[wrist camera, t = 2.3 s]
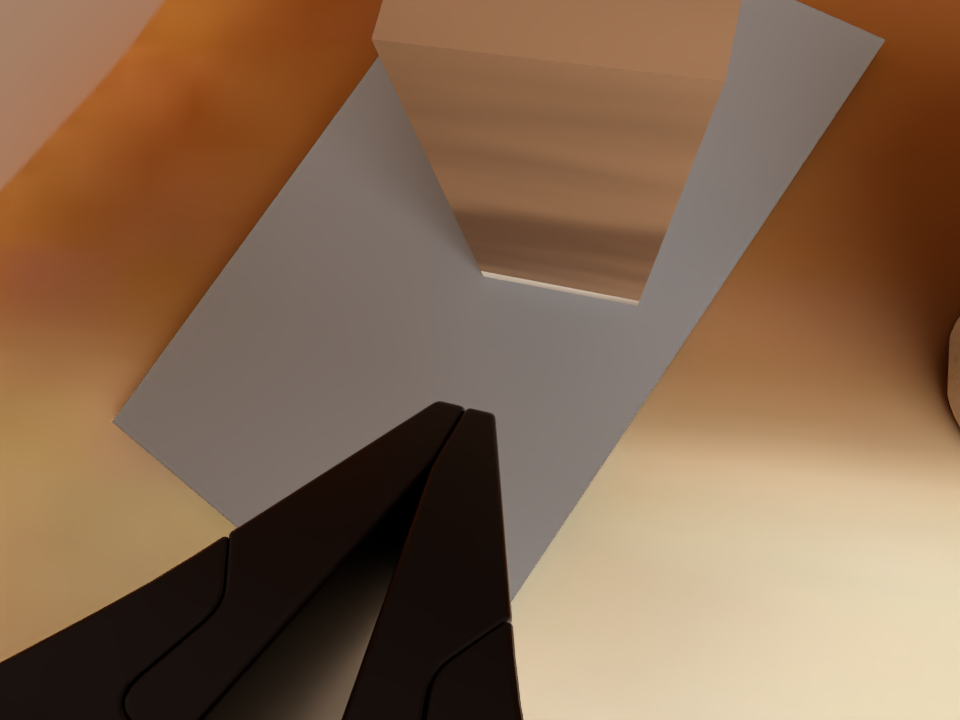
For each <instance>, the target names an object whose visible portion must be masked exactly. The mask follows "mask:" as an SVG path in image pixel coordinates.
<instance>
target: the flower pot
mask: <svg viewBox="0 0 960 720" xmlns="http://www.w3.org/2000/svg"><path fill="white" fill-rule="evenodd" d="M947 395H948V399H949V404H950V406H951V409H952V412H953V415H954V417H955V419H956V421H957V423H958V424H959V426H960V317H959V318H958V320H957V321H956V323H955V325H954V328H953V330H952V332H951V334H950V339H949V365H948V390H947Z"/></svg>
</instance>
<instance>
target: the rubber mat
mask: <svg viewBox="0 0 960 720" xmlns="http://www.w3.org/2000/svg"><path fill="white" fill-rule="evenodd" d="M884 41H885V39H883V38H881V37H878V36H876V35H874V34H871V33H869V32H867V31H865V30H862V29H860V28H858V27H855V26H853V25H851V24H849V23H846V22H844V21H842V20H839V19H837V18H835V17H833V16H830V15H828V14H826V13H823V12H821V11H819V10H817V9H814V8H812V7H810V6H807V5H805V4H803V3H801V2H798V1H796V0H742V1H741V6H740V11H739V16H738V21H737V25H736V30H735V35H734V40H733V45H732V50H731V55H730V60H729V65H728V70H727V74H726V79H725V83H724V85H723V88H722V91H721V93H720V96H719V98H718V101H717V103H716V106H715V109H714V111H713V114H712V116H711V119H710V121H709V124H708V127H707V129H706V132H705V134H704V137H703V139H702V142H701V144H700V147H699V150H698V152H697V155H696V157H695V160H694V162H693V165H692V168H691V170H690V173H689V175H688V178H687V180H686V183H685V186H684V188H683V191H682V193H681V196H680V198H679V201H678V203H677V206H676V209H675V211H674V214H673V216H672V219H671V221H670V224H669V227H668V229H667V232H666V234H665V237H664V239H663V242H662V244H661V247H660V250H659V252H658V255H657V257H656V260H655V262H654V265H653V268H652V270H651V273H650V275H649V278H648V280H647V283H646V286H645V288H644V291H643V293H642V296H641V298H640V301H639V303H638V306H635V305H630V304H625V303H619V302H614V301H609V300H604V299H599V298H593V297H588V296H583V295H578V294H573V293H567V292H562V291H557V290H552V289H547V288H542V287H536V286H531V285H526V284H521V283H516V282H510V281H505V280H500V279H495V278H490V277H484V276H483V275H482V272H481V270H480V268H479V266H478V264H477V262H476V260H475V258H474V256H473V253H472V251H471V249H470V247H469V245H468V243H467V241H466V239H465V237H464V234H463V232H462V230H461V228H460V226H459V224H458V222H457V220H456V217H455V215H454V213H453V211H452V209H451V207H450V205H449V203H448V201H447V198H446V196H445V194H444V192H443V190H442V188H441V186H440V184H439V182H438V179H437V177H436V175H435V173H434V171H433V169H432V167H431V165H430V162H429V160H428V158H427V156H426V154H425V152H424V150H423V148H422V146H421V143H420V141H419V139H418V137H417V135H416V133H415V131H414V129H413V127H412V124H411V122H410V120H409V118H408V116H407V114H406V112H405V110H404V107H403V105H402V103H401V101H400V99H399V97H398V95H397V93H396V91H395V88H394V86H393V84H392V82H391V80H390V78H389V76H388V74H387V72H386V69H385V67H384V65H383V63H382V61H381V59H380V57H379V56H378V58H377V59H376V60H375V62H374V63H373V65H372V66H371V67H370V69H369V70H368V71H367V73H366V74H365V76H364V77H363V78H362V80H361V81H360V82H359V84H358V85H357V87H356V88H355V89H354V91H353V92H352V93H351V95H350V96H349V97H348V99H347V100H346V102H345V103H344V104H343V106H342V107H341V108H340V110H339V111H338V113H337V114H336V115H335V117H334V118H333V119H332V121H331V122H330V124H329V125H328V126H327V128H326V129H325V130H324V132H323V133H322V135H321V136H320V137H319V139H318V140H317V141H316V143H315V144H314V145H313V147H312V148H311V150H310V151H309V152H308V154H307V155H306V156H305V158H304V159H303V161H302V162H301V163H300V165H299V166H298V167H297V169H296V170H295V172H294V173H293V174H292V176H291V177H290V178H289V180H288V181H287V183H286V184H285V185H284V187H283V188H282V189H281V191H280V192H279V194H278V195H277V196H276V198H275V199H274V200H273V202H272V203H271V204H270V206H269V207H268V209H267V210H266V211H265V213H264V214H263V215H262V217H261V218H260V220H259V221H258V222H257V224H256V225H255V226H254V228H253V229H252V231H251V232H250V233H249V235H248V236H247V237H246V239H245V240H244V242H243V243H242V244H241V246H240V247H239V248H238V250H237V251H236V253H235V254H234V255H233V257H232V258H231V259H230V261H229V262H228V263H227V265H226V266H225V268H224V269H223V270H222V272H221V273H220V274H219V276H218V277H217V279H216V280H215V281H214V283H213V284H212V285H211V287H210V288H209V290H208V291H207V292H206V294H205V295H204V296H203V298H202V299H201V301H200V302H199V303H198V305H197V306H196V307H195V309H194V310H193V311H192V313H191V314H190V316H189V317H188V318H187V320H186V321H185V322H184V324H183V325H182V327H181V328H180V329H179V331H178V332H177V333H176V335H175V336H174V338H173V339H172V340H171V342H170V343H169V344H168V346H167V347H166V349H165V350H164V351H163V353H162V354H161V355H160V357H159V358H158V360H157V361H156V362H155V364H154V365H153V366H152V368H151V369H150V370H149V372H148V373H147V375H146V376H145V377H144V379H143V380H142V381H141V383H140V384H139V386H138V387H137V388H136V390H135V391H134V392H133V394H132V395H131V397H130V398H129V399H128V401H127V402H126V403H125V405H124V406H123V408H122V409H121V410H120V412H119V413H118V414H117V416H116V417H115V418H114V420H113V421H112V422H113V423H114V424H115V425H116V426H118V427H119V428H120V429H121V430H122V431H124V432H125V433H126V434H127V435H128V436H130V437H131V438H132V439H133V440H134V441H135V442H137V443H138V444H139V445H140V446H141V447H143V448H144V449H145V450H146V451H147V452H149V453H150V454H151V455H152V456H153V457H154V458H156V459H157V460H158V461H159V462H160V463H162V464H163V465H164V466H165V467H166V468H167V469H169V470H170V471H171V472H172V473H173V474H175V475H176V476H177V477H178V478H179V479H181V480H182V481H183V482H184V483H185V484H186V485H188V486H189V487H190V488H191V489H192V490H194V491H195V492H196V493H197V494H198V495H200V496H201V497H202V498H203V499H204V500H205V501H207V502H208V503H209V504H210V505H211V506H213V507H214V508H215V509H216V510H217V511H219V512H220V513H221V514H222V515H223V516H224V517H226V518H227V519H228V520H229V521H230V522H232V523H233V524H234V525H235V526H236V527H240V526H241V525H243V524H244V523H246V522H248V521H249V520H251V519H252V518H254V517H255V516H257V515H258V514H260V513H262V512H263V511H265V510H266V509H268V508H269V507H271V506H273V505H274V504H276V503H277V502H279V501H280V500H282V499H284V498H285V497H287V496H288V495H290V494H291V493H293V492H295V491H296V490H298V489H299V488H301V487H302V486H304V485H305V484H307V483H309V482H310V481H312V480H313V479H315V478H316V477H318V476H320V475H321V474H323V473H324V472H326V471H327V470H329V469H331V468H332V467H334V466H335V465H337V464H338V463H340V462H342V461H343V460H345V459H346V458H348V457H349V456H351V455H352V454H354V453H356V452H357V451H359V450H360V449H362V448H363V447H365V446H367V445H368V444H370V443H371V442H373V441H374V440H376V439H378V438H379V437H381V436H382V435H384V434H385V433H387V432H388V431H390V430H392V429H393V428H395V427H396V426H398V425H399V424H401V423H403V422H404V421H406V420H407V419H409V418H410V417H412V416H414V415H415V414H417V413H418V412H420V411H421V410H423V409H425V408H426V407H428V406H429V405H431V404H432V403H434V402H437V401H443V402H447V403H452V404H456V405H460V406H463V408H464V409H465V410H466V409H469V408H473V409H477V410H481V411H485V412H490V413H493V414H494V416H495V419H496V430H497V442H498V454H499V467H500V479H501V491H502V503H503V516H504V528H505V540H506V552H507V564H508V577H509V589H510V601H512V600H513V598H514V597H515V595H516V594H517V592H518V591H519V589H520V588H521V586H522V585H523V583H524V582H525V580H526V579H527V577H528V576H529V574H530V573H531V571H532V570H533V568H534V567H535V565H536V564H537V562H538V561H539V559H540V558H541V556H542V555H543V553H544V552H545V550H546V549H547V547H548V546H549V544H550V543H551V541H552V540H553V538H554V537H555V535H556V534H557V532H558V531H559V529H560V528H561V526H562V525H563V523H564V522H565V520H566V519H567V517H568V516H569V514H570V513H571V511H572V510H573V508H574V507H575V505H576V504H577V502H578V501H579V499H580V498H581V496H582V495H583V493H584V492H585V490H586V489H587V487H588V486H589V484H590V483H591V481H592V480H593V478H594V477H595V475H596V474H597V472H598V471H599V469H600V468H601V466H602V465H603V463H604V462H605V460H606V459H607V457H608V456H609V454H610V453H611V451H612V450H613V448H614V447H615V445H616V444H617V442H618V441H619V439H620V438H621V436H622V435H623V433H624V432H625V430H626V429H627V427H628V426H629V424H630V423H631V421H632V420H633V418H634V417H635V415H636V414H637V412H638V411H639V409H640V408H641V406H642V405H643V403H644V402H645V400H646V399H647V397H648V396H649V394H650V393H651V391H652V390H653V388H654V387H655V385H656V384H657V382H658V381H659V379H660V378H661V376H662V375H663V373H664V372H665V370H666V369H667V367H668V366H669V364H670V363H671V361H672V360H673V358H674V357H675V355H676V354H677V352H678V351H679V349H680V348H681V346H682V345H683V343H684V342H685V340H686V339H687V337H688V336H689V334H690V333H691V331H692V330H693V328H694V327H695V325H696V324H697V322H698V321H699V319H700V318H701V316H702V315H703V313H704V312H705V310H706V309H707V307H708V306H709V304H710V303H711V301H712V300H713V298H714V297H715V295H716V294H717V292H718V291H719V289H720V288H721V286H722V285H723V283H724V282H725V280H726V279H727V277H728V276H729V274H730V273H731V271H732V270H733V268H734V267H735V265H736V264H737V262H738V261H739V259H740V258H741V256H742V255H743V253H744V252H745V250H746V249H747V247H748V246H749V244H750V243H751V241H752V240H753V238H754V237H755V235H756V234H757V232H758V231H759V229H760V228H761V226H762V225H763V223H764V222H765V220H766V219H767V217H768V216H769V214H770V213H771V211H772V210H773V208H774V207H775V205H776V204H777V202H778V201H779V199H780V198H781V196H782V195H783V193H784V192H785V190H786V189H787V187H788V186H789V184H790V183H791V181H792V180H793V178H794V177H795V175H796V174H797V172H798V171H799V169H800V168H801V166H802V165H803V163H804V162H805V160H806V159H807V157H808V156H809V154H810V152H811V151H812V149H813V148H814V146H815V145H816V143H817V142H818V140H819V139H820V137H821V136H822V134H823V133H824V131H825V130H826V128H827V127H828V125H829V124H830V122H831V121H832V119H833V118H834V116H835V115H836V113H837V112H838V110H839V109H840V107H841V106H842V104H843V103H844V101H845V100H846V98H847V97H848V95H849V94H850V92H851V91H852V89H853V88H854V86H855V85H856V83H857V82H858V80H859V79H860V77H861V76H862V74H863V73H864V71H865V70H866V68H867V67H868V65H869V64H870V62H871V61H872V59H873V58H874V56H875V55H876V53H877V52H878V50H879V49H880V47H881V46H882V44H883V43H884Z"/></svg>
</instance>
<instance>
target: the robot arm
mask: <svg viewBox="0 0 960 720" xmlns="http://www.w3.org/2000/svg"><path fill="white" fill-rule="evenodd" d="M511 622H512V613H511V601H510V589H509V577H508V564H507V552H506V540H505V528H504V516H503V503H502V491H501V479H500V467H499V454H498V442H497V430H496V419H495V416H494V414H493V413H490V412H485V411H481V410H477V409H473V408H469V409H466V410H465V409H464V408H463V406H460V405H456V404H452V403H447V402H443V401H437V402H434V403H432V404H431V405H429V406H428V407H426V408H425V409H423V410H421V411H420V412H418V413H417V414H415V415H414V416H412V417H410V418H409V419H407V420H406V421H404V422H403V423H401V424H399V425H398V426H396V427H395V428H393V429H392V430H390V431H388V432H387V433H385V434H384V435H382V436H381V437H379V438H378V439H376V440H374V441H373V442H371V443H370V444H368V445H367V446H365V447H363V448H362V449H360V450H359V451H357V452H356V453H354V454H352V455H351V456H349V457H348V458H346V459H345V460H343V461H342V462H340V463H338V464H337V465H335V466H334V467H332V468H331V469H329V470H327V471H326V472H324V473H323V474H321V475H320V476H318V477H316V478H315V479H313V480H312V481H310V482H309V483H307V484H305V485H304V486H302V487H301V488H299V489H298V490H296V491H295V492H293V493H291V494H290V495H288V496H287V497H285V498H284V499H282V500H280V501H279V502H277V503H276V504H274V505H273V506H271V507H269V508H268V509H266V510H265V511H263V512H262V513H260V514H258V515H257V516H255V517H254V518H252V519H251V520H249V521H248V522H246V523H244V524H243V525H241V526H240V527H238V528H237V529H235V530H233V531H232V532H231V533H230V535H229V538H228V537H222V538H220V539H219V540H217V541H216V542H214V543H213V544H211V545H210V546H208V547H206V548H205V549H203V550H202V551H200V552H199V553H197V554H195V555H194V556H192V557H190V558H189V559H187V560H185V561H184V562H182V563H181V564H179V565H177V566H176V567H174V568H172V569H171V570H169V571H167V572H166V573H164V574H162V575H161V576H159V577H158V578H156V579H154V580H153V581H151V582H149V583H147V584H146V585H144V586H142V587H140V588H138V589H137V590H135V591H133V592H131V593H129V594H128V595H126V596H124V597H122V598H120V599H118V600H117V601H115V602H113V603H111V604H109V605H108V606H106V607H104V608H102V609H100V610H99V611H97V612H95V613H93V614H91V615H89V616H87V617H85V618H84V619H82V620H80V621H78V622H76V623H74V624H72V625H70V626H68V627H67V628H65V629H63V630H61V631H59V632H57V633H55V634H53V635H51V636H50V637H48V638H46V639H44V640H42V641H40V642H38V643H36V644H34V645H33V646H31V647H29V648H27V649H25V650H23V651H21V652H19V653H17V654H16V655H14V656H12V657H10V658H8V659H6V660H4V661H2V662H0V720H524V719H523V714H522V708H521V701H520V692H519V684H518V676H517V667H516V659H515V646H514V634H513V626H512V624H511Z"/></svg>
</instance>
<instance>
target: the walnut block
mask: <svg viewBox="0 0 960 720" xmlns="http://www.w3.org/2000/svg"><path fill="white" fill-rule="evenodd" d="M741 1H742V0H383V2H382V5H381V8H380V12H379V15H378V18H377V22H376V25H375V29H374V32H373V35H372V39H371V40H372V42H373V44H374V46H375V48H376V50H377V52H378V55H379V57H380V59H381V61H382V63H383V65H384V67H385V69H386V72H387V74H388V76H389V78H390V80H391V82H392V84H393V86H394V88H395V91H396V93H397V95H398V97H399V99H400V101H401V103H402V105H403V107H404V110H405V112H406V114H407V116H408V118H409V120H410V122H411V124H412V127H413V129H414V131H415V133H416V135H417V137H418V139H419V141H420V143H421V146H422V148H423V150H424V152H425V154H426V156H427V158H428V160H429V162H430V165H431V167H432V169H433V171H434V173H435V175H436V177H437V179H438V182H439V184H440V186H441V188H442V190H443V192H444V194H445V196H446V198H447V201H448V203H449V205H450V207H451V209H452V211H453V213H454V215H455V217H456V220H457V222H458V224H459V226H460V228H461V230H462V232H463V234H464V237H465V239H466V241H467V243H468V245H469V247H470V249H471V251H472V253H473V256H474V258H475V260H476V262H477V264H478V266H479V268H480V270H481V272H482V275H483V276H484V277H490V278H495V279H500V280H505V281H510V282H516V283H521V284H526V285H531V286H536V287H542V288H547V289H552V290H557V291H562V292H567V293H573V294H578V295H583V296H588V297H593V298H599V299H604V300H609V301H614V302H619V303H625V304H630V305H635V306H638V303H639V301H640V298H641V296H642V293H643V291H644V288H645V286H646V283H647V280H648V278H649V275H650V273H651V270H652V268H653V265H654V262H655V260H656V257H657V255H658V252H659V250H660V247H661V244H662V242H663V239H664V237H665V234H666V232H667V229H668V227H669V224H670V221H671V219H672V216H673V214H674V211H675V209H676V206H677V203H678V201H679V198H680V196H681V193H682V191H683V188H684V186H685V183H686V180H687V178H688V175H689V173H690V170H691V168H692V165H693V162H694V160H695V157H696V155H697V152H698V150H699V147H700V144H701V142H702V139H703V137H704V134H705V132H706V129H707V127H708V124H709V121H710V119H711V116H712V114H713V111H714V109H715V106H716V103H717V101H718V98H719V96H720V93H721V91H722V88H723V85H724V83H725V79H726V74H727V70H728V65H729V60H730V55H731V50H732V45H733V40H734V35H735V30H736V25H737V21H738V16H739V11H740V6H741Z"/></svg>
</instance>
